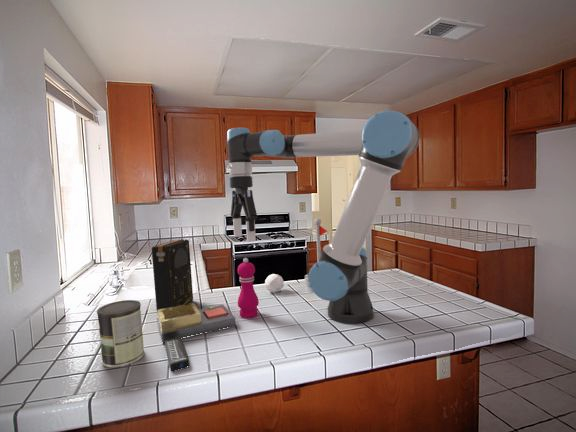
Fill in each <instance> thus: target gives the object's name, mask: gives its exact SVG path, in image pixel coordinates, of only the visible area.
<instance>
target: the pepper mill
mask: <svg viewBox="0 0 576 432" xmlns="http://www.w3.org/2000/svg"><path fill="white" fill-rule="evenodd" d="M255 273H256V267H255V265H254V264H253V263H252V262H249V258H247V257H244V258H243V259H242V263H240V264H239V265H238V266H237V275H239V282H240V285H241V287H240V292H239V295H238V297H237V298H238V299H237V307H238V308H239V317H240V316H241V317H240V318H242V319H252V318H255V317H257V316H258V314H259V310H258V309H259V308H257V307H258V306H259V304H260V303H259V298H258V295H257V292H256V291H255V289H254V281H255V276H254V274H255Z"/></svg>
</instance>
